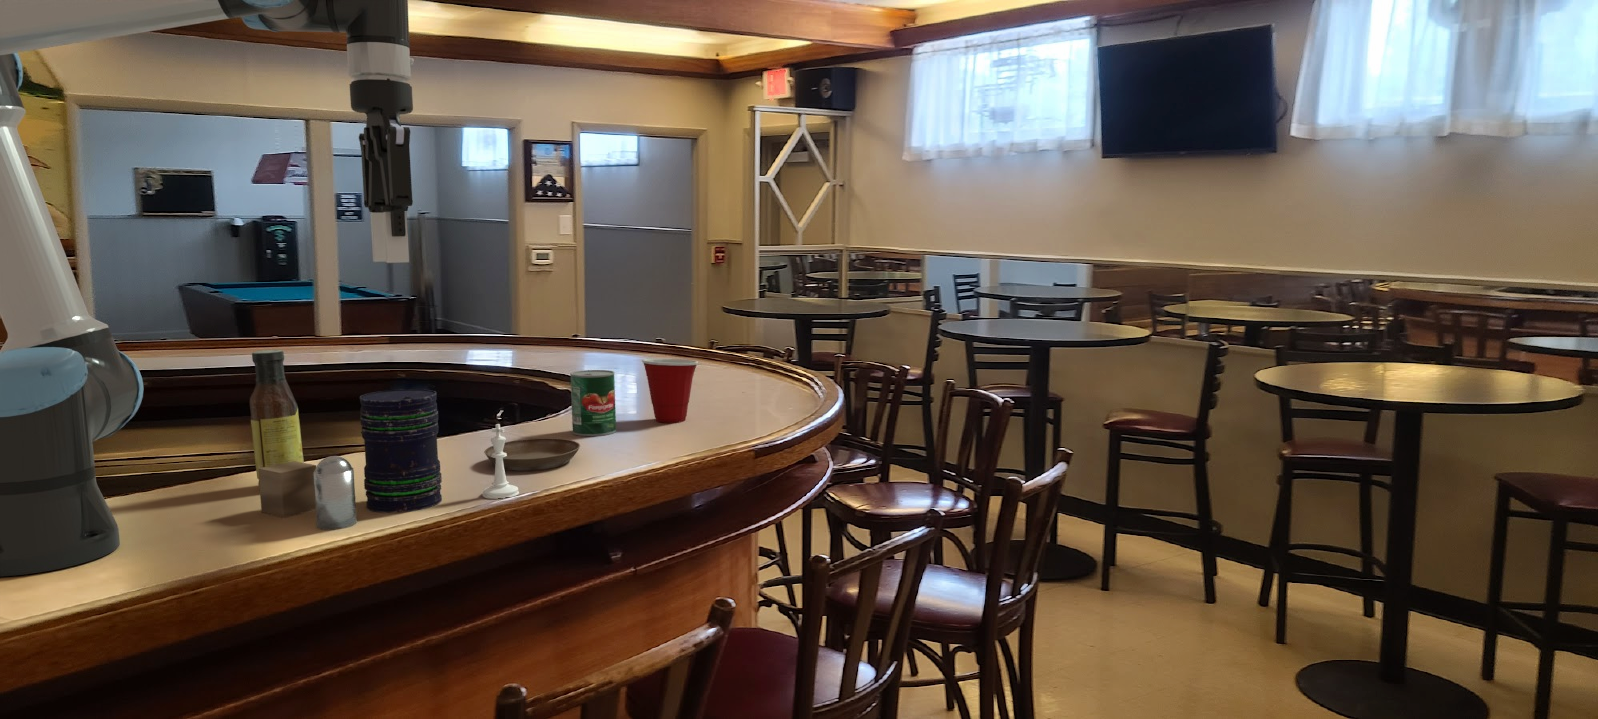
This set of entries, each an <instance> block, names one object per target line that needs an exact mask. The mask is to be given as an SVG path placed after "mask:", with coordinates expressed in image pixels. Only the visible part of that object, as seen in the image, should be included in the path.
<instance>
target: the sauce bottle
mask: <svg viewBox="0 0 1598 719" xmlns="http://www.w3.org/2000/svg"><path fill="white" fill-rule="evenodd" d="M251 359H252V362H253V364H254V371H255V378H254V379H255V386H254V389H253V392H252V393H251V395H250V397H249V410H250V426H251V435H252V445H253V452H254V462H255V470H256V472H255V473H256V478H257V479H258V480H259V472H258V468H263V467H268V466H272V465H277V464H282V463H287V462H292V461H296V462H302V463H305V461H304V454H303V441H302V434H301V424H300V418H299V407H298V403H297V401H296V399H295V397H294V394H293V392H292V390H291V388H290V385H289V383H288V381H287V379H286V376H285V365H284V361H285V354H284V350H282V349H268V350H267V349H265V350H258V351H254V352H252V353H251ZM257 484H258V487H259V488H260V485H259V481H258V483H257Z"/></svg>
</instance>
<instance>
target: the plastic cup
mask: <svg viewBox="0 0 1598 719" xmlns="http://www.w3.org/2000/svg"><path fill="white" fill-rule="evenodd" d="M641 362H642V363H643V366H644V370H645V373H646V374H645V375H646V379H647V384H648V389H649V394H650V400H651V405H652V409H653V414H654V418H655V421H656V422H658V423H662V424H664V423H665V424H675V423H681V422H684V421H686V420H687V419H686V418H687V416H688V415H687V414H688V407H689V403H690V397H691V391H692V384H693V378H694V375H695V371H696V367H697V365H698V364H699V361H698V360H691V359H682V358H681V359H680V358H644V359H641Z"/></svg>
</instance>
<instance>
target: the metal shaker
mask: <svg viewBox="0 0 1598 719" xmlns="http://www.w3.org/2000/svg"><path fill="white" fill-rule="evenodd" d="M313 473H314V488H315V503H316V510H315V515H316V528H317V529H319V530H326V531H330V530H331V531H332V530H333V531H334V530H340V529H346V528H350V527H353V526H355V525H356V524H357V523H358V522H357V519H358V518H357V504H356V491H355V490H356V488H355V474H354V473H355V471H354V467H352V465H351V463H350V462H349V461H348V460H347V458H344V457H342V456H340V455H330V456H327V457H325V458H323V459H322V460H320V461H319V462H318V463H317V465H316V469H315V471H314V472H313Z"/></svg>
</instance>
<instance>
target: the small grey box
mask: <svg viewBox="0 0 1598 719" xmlns="http://www.w3.org/2000/svg"><path fill="white" fill-rule="evenodd" d="M316 466H317V465H316V464H311V463H306V462H304V463H302V462H296V461H292V462H287V463H282V464H277V465H272V466H268V467H263V468H258V472H259V479H258V482H259V483H258V484H259V485H260V487H259V493H260V494H259V495H260V496H259V497H260V498H259V499H260V508H261V509H260V510H261V514H266V515H269V516H270V515H271V516H274V517H280V518H283V519H284V518H288V517H292V516H295V515H296V516H297V515H301V514H303V513H307V512H313V511H316V503H315V488H314V473H313V472H314V471H315V469H316ZM259 485H258V486H259Z"/></svg>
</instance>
